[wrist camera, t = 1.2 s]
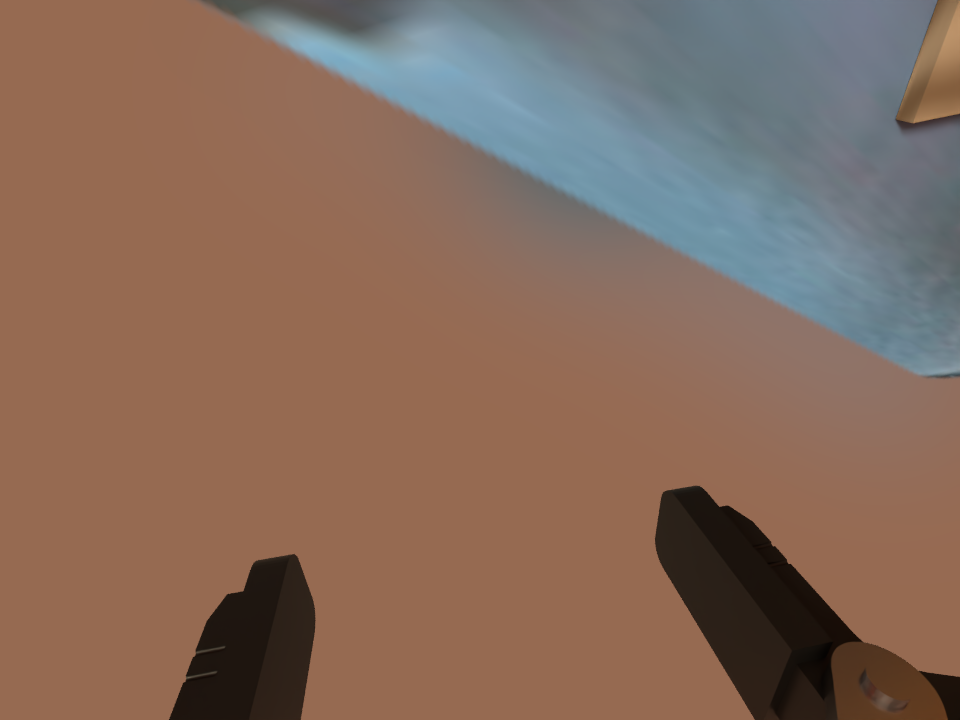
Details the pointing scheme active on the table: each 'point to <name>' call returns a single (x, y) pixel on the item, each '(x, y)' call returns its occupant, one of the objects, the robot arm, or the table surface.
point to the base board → (936, 69)
